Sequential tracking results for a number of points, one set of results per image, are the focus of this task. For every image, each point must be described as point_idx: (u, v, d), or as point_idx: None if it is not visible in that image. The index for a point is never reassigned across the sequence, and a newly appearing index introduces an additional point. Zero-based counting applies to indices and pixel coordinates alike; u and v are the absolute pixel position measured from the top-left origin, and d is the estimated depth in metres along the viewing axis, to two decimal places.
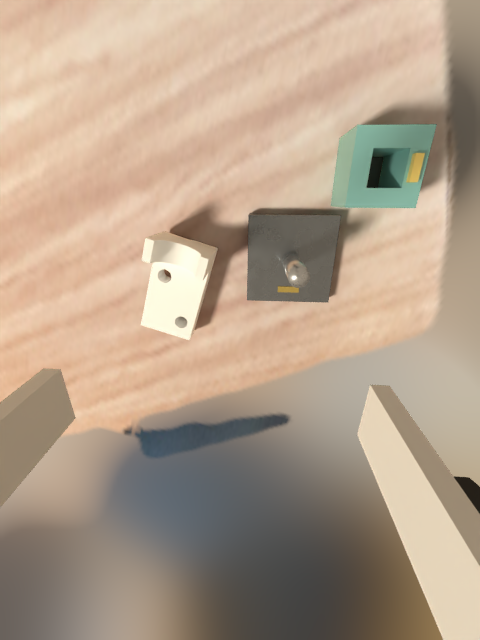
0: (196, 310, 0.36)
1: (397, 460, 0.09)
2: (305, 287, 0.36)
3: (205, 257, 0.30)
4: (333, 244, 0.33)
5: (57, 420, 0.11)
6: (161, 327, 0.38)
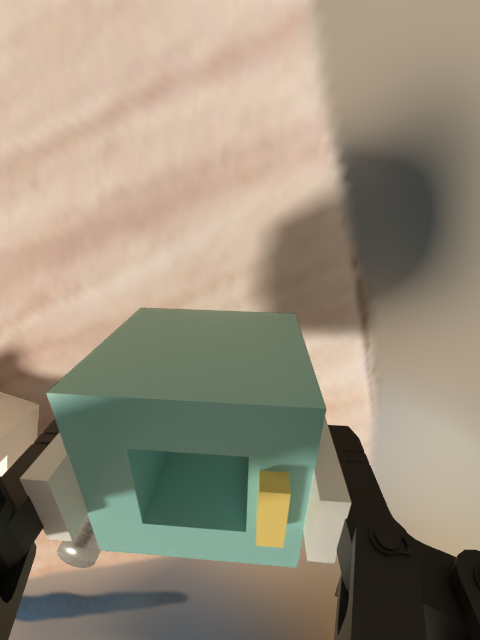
0: None
1: None
2: None
3: None
4: None
5: None
6: None
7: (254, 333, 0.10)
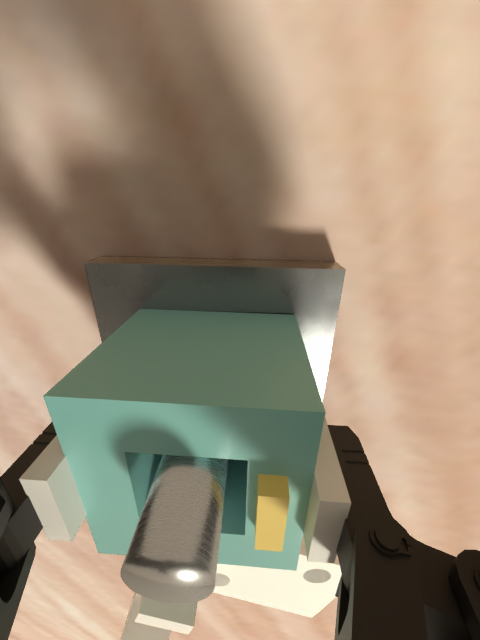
0: None
1: None
2: None
3: (139, 606, 0.13)
4: (162, 273, 0.12)
5: None
6: (323, 598, 0.19)
7: (253, 335, 0.10)
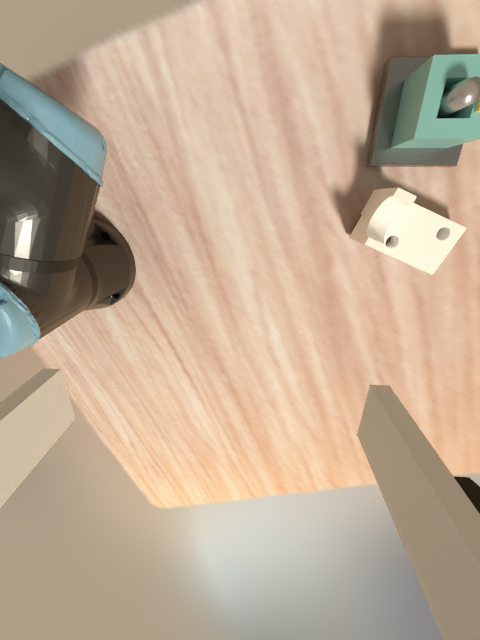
0: (435, 215, 0.36)
1: (397, 460, 0.09)
2: None
3: (394, 191, 0.32)
4: (419, 61, 0.32)
5: (57, 420, 0.11)
6: (441, 255, 0.38)
7: None
